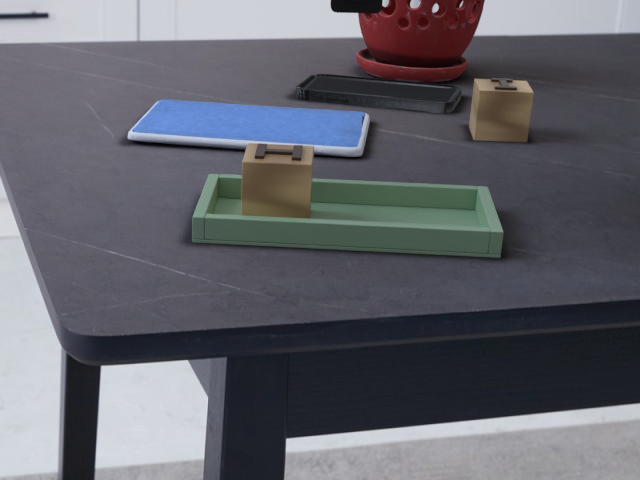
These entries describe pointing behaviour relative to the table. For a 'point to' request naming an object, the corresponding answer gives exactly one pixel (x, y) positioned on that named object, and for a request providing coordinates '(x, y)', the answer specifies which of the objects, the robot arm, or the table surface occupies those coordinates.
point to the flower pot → (418, 40)
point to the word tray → (359, 218)
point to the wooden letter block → (501, 110)
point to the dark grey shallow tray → (379, 93)
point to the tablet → (252, 127)
